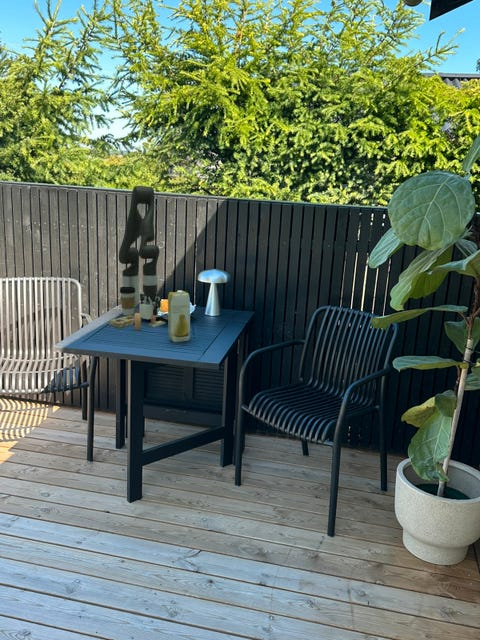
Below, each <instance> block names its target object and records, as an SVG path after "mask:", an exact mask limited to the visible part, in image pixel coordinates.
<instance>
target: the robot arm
mask: <svg viewBox="0 0 480 640" xmlns="http://www.w3.org/2000/svg"><path fill="white" fill-rule="evenodd" d="M130 197H131V198H130V207H129V212H128V215H127V220H126V224H125V228H124V235H123V238H122V241H121V244H120V247H119V251H118V261H119V263H120V264H122V265H129V266H128V267H127V268H125V269H123V270H122V273H121V277H122V278H121V279H122V287H134V288H135V303H134V307H135V306H139V305H138V304H144V303H151V305H153V315H155V316H156V315H157V308H160V304H161V305H162V301H161V300H162V297H161V296H158V295H157V293H158V276H157V265H158V260H159V257H160V247H159V246H158V245H157V244H148V243H151V242H153V241H155V238H156V237H155V226H154V225H155V224H154V222H155V221H154V220H155V219H154V217H155V191H154V188H153V187H151V186H145V185H134V187H133V188H132V192H131V196H130ZM139 205H147V209H146V213H145V214H144V216H142V215H141V213H140V211H139V208H138V206H139ZM139 238H140V244H139V249H138V247H136V246H135V247H132V245H133V244H135V242H136V241H138V239H139ZM140 259H142V260H148V259H149V260H150V259H151V261H150V262H146V263H143V264H142V293H140V284H139V283H140V282H139V281H140V280H139V278H140V277H139V275H140V274H139V271H140ZM153 302H155V303H153ZM154 304H155V306H154Z"/></svg>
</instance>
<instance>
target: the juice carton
mask: <svg viewBox="0 0 480 640" xmlns="http://www.w3.org/2000/svg"><path fill="white" fill-rule="evenodd" d="M190 301H191V299H190V294H189V293H188V292H187V291H184V290H177V291H175V292H172V291H170V292H169V293H168V297H167V316H168V317H167V321H168V322H167V323H168V325H167V326H168V327H167V328H168V336H169V340H171V341H172V342H173V343H180V342H188V341H190V337H191V302H190Z"/></svg>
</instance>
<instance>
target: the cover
mask: <svg viewBox="0 0 480 640" xmlns="http://www.w3.org/2000/svg"><path fill="white" fill-rule="evenodd" d="M143 303H144V302H143ZM153 303H155V302H153ZM138 306H139V313H141V318H142V319H144V320H151V315H153V305H151V303H144V304H141V303H139V305H138ZM154 306H155V304H154ZM160 307H161V308H162V303H161V304H160ZM159 311H160V308H157V315H156V318H158V317H161V316H160V315H158V312H159Z"/></svg>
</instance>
